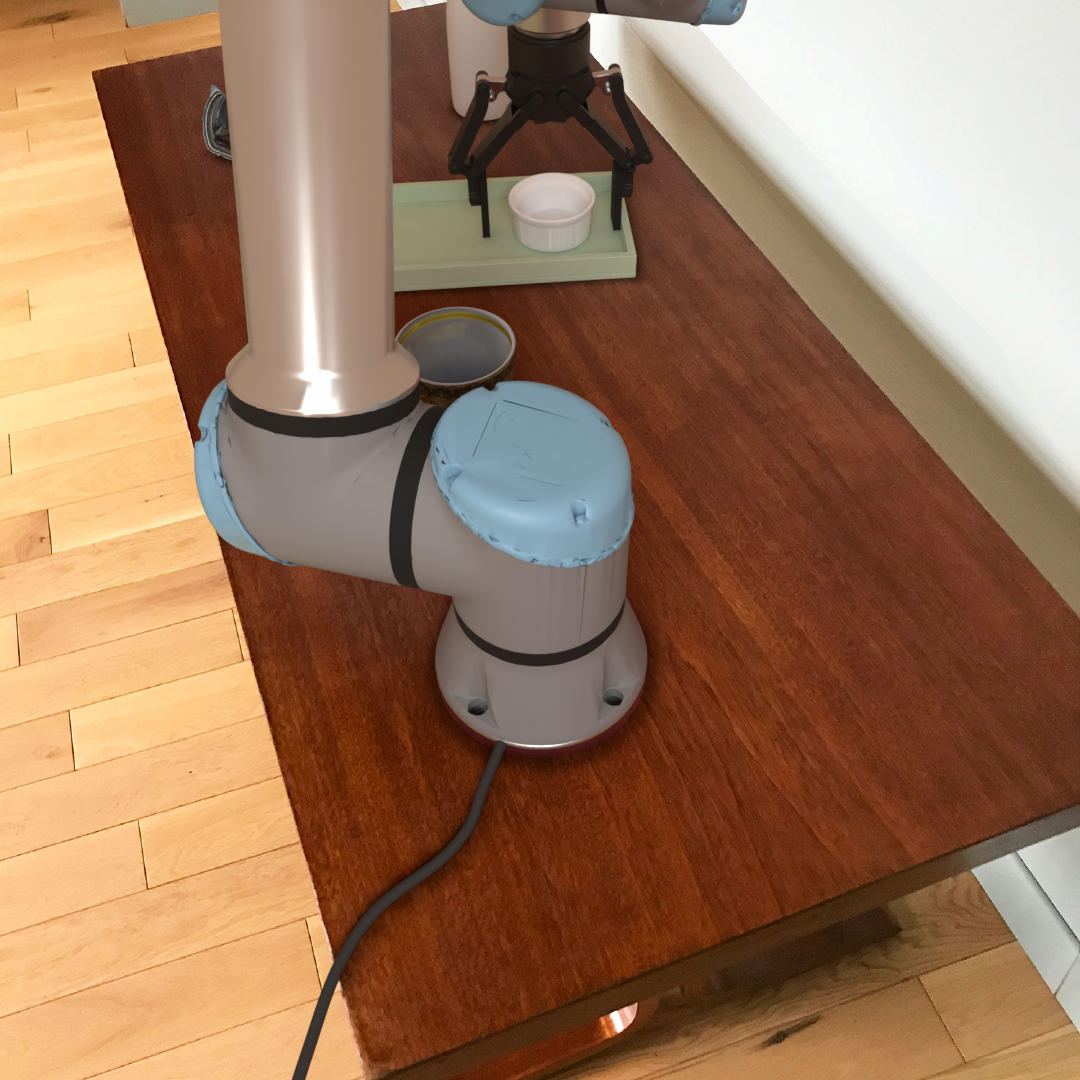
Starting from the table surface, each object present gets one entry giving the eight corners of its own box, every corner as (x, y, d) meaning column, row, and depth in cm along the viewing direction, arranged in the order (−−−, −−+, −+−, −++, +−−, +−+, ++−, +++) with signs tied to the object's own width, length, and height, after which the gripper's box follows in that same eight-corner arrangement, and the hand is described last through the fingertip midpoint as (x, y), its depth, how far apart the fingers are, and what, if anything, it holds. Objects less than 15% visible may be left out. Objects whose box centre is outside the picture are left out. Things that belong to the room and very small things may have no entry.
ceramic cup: (454, 381, 102) (444, 291, 95) (542, 423, 98) (540, 333, 91) (360, 464, 95) (342, 375, 88) (451, 513, 92) (441, 424, 84)
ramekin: (569, 266, 112) (569, 229, 109) (493, 242, 115) (491, 205, 112) (609, 222, 117) (610, 185, 114) (536, 200, 120) (535, 163, 117)
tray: (635, 277, 112) (636, 255, 110) (340, 295, 111) (336, 273, 109) (617, 192, 122) (618, 170, 120) (346, 207, 121) (343, 186, 119)
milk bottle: (515, 122, 132) (508, -56, 117) (450, 123, 132) (435, -55, 117) (517, 90, 137) (511, -85, 122) (455, 91, 137) (440, -84, 122)
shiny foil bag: (328, 154, 129) (273, 58, 127) (286, 166, 123) (228, 65, 122) (282, 194, 135) (230, 103, 133) (240, 206, 130) (185, 111, 128)
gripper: (680, -5, 103) (664, 200, 119) (409, 8, 102) (431, 212, 118) (693, 32, 98) (675, 240, 114) (409, 46, 97) (431, 254, 113)
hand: (550, 226), depth 116 cm, fingers open, 13 cm apart
